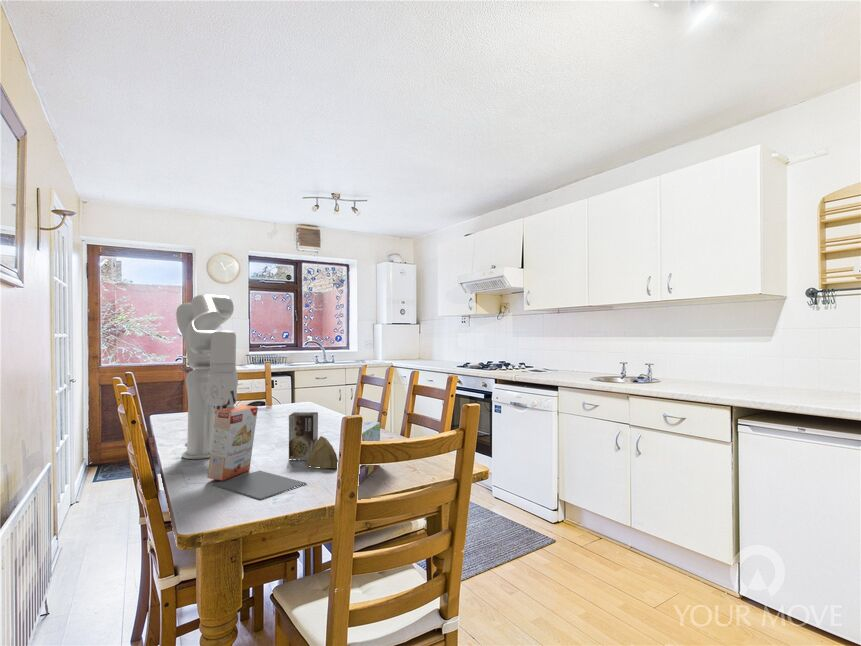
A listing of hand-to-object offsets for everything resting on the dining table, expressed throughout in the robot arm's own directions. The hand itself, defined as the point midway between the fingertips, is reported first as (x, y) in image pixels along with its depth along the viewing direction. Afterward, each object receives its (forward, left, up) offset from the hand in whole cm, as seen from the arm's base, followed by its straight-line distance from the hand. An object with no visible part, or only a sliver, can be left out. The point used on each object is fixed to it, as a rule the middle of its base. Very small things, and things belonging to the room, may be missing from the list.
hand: (221, 426), depth 146 cm
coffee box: (+7, +27, -15) cm, 32 cm away
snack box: (+37, +25, -15) cm, 48 cm away
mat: (+19, 0, -15) cm, 25 cm away
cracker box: (+4, 0, -15) cm, 15 cm away
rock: (+21, +23, -15) cm, 35 cm away
